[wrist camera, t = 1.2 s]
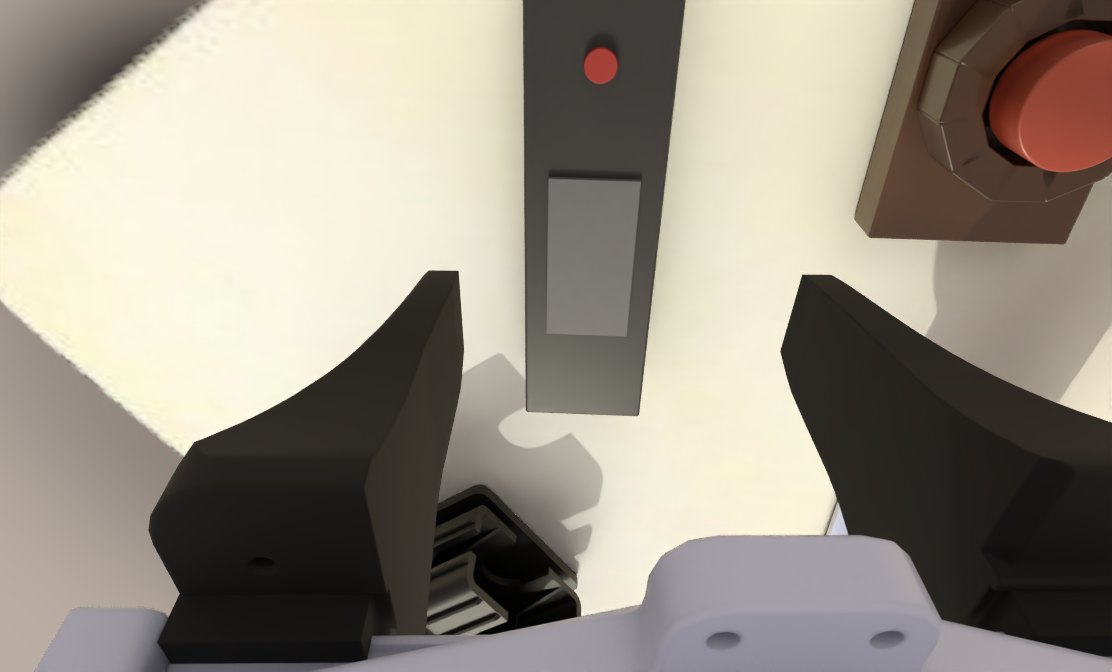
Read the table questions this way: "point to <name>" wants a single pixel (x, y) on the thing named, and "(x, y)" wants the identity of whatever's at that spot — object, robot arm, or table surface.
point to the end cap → (493, 571)
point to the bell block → (970, 130)
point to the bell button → (1057, 102)
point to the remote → (594, 194)
